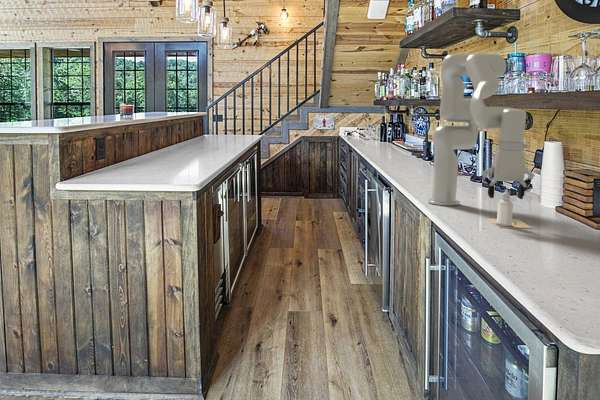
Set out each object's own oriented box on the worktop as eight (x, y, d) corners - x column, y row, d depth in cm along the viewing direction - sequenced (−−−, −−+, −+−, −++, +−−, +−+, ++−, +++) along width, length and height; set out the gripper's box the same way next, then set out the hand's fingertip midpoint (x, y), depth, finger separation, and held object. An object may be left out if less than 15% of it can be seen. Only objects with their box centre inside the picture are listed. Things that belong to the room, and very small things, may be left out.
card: (486, 219, 212) (486, 218, 212) (517, 220, 212) (517, 219, 212) (499, 227, 198) (500, 226, 198) (533, 228, 198) (533, 227, 198)
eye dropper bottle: (497, 225, 199) (500, 190, 197) (496, 222, 204) (498, 187, 202) (511, 226, 198) (514, 191, 196) (509, 223, 203) (512, 188, 201)
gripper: (532, 146, 200) (527, 196, 204) (481, 144, 200) (476, 194, 204) (541, 148, 193) (535, 200, 196) (488, 147, 193) (483, 199, 196)
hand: (505, 197), depth 200 cm, fingers open, 9 cm apart
